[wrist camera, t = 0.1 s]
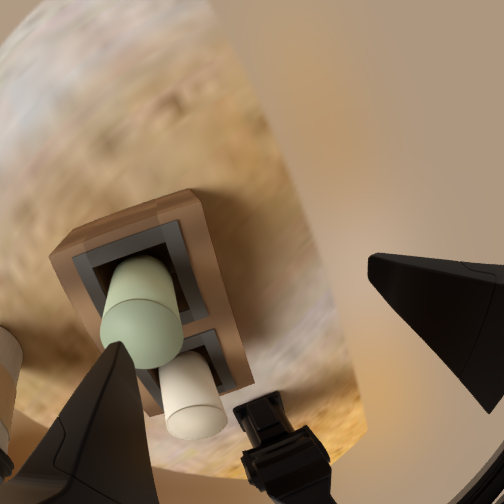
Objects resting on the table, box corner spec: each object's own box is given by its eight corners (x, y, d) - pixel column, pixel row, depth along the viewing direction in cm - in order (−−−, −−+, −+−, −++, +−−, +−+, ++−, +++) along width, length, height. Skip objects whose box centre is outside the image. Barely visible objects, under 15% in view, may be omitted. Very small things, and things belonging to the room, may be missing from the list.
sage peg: (180, 300, 18) (194, 355, 13) (126, 318, 17) (124, 376, 12) (160, 246, 16) (165, 288, 11) (102, 266, 15) (84, 315, 10)
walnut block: (234, 342, 27) (255, 384, 22) (145, 372, 25) (150, 418, 20) (188, 188, 21) (201, 201, 15) (72, 229, 18) (47, 257, 13)
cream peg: (214, 376, 21) (234, 428, 16) (170, 390, 20) (181, 444, 15) (198, 343, 19) (217, 399, 14) (150, 359, 18) (156, 417, 14)
